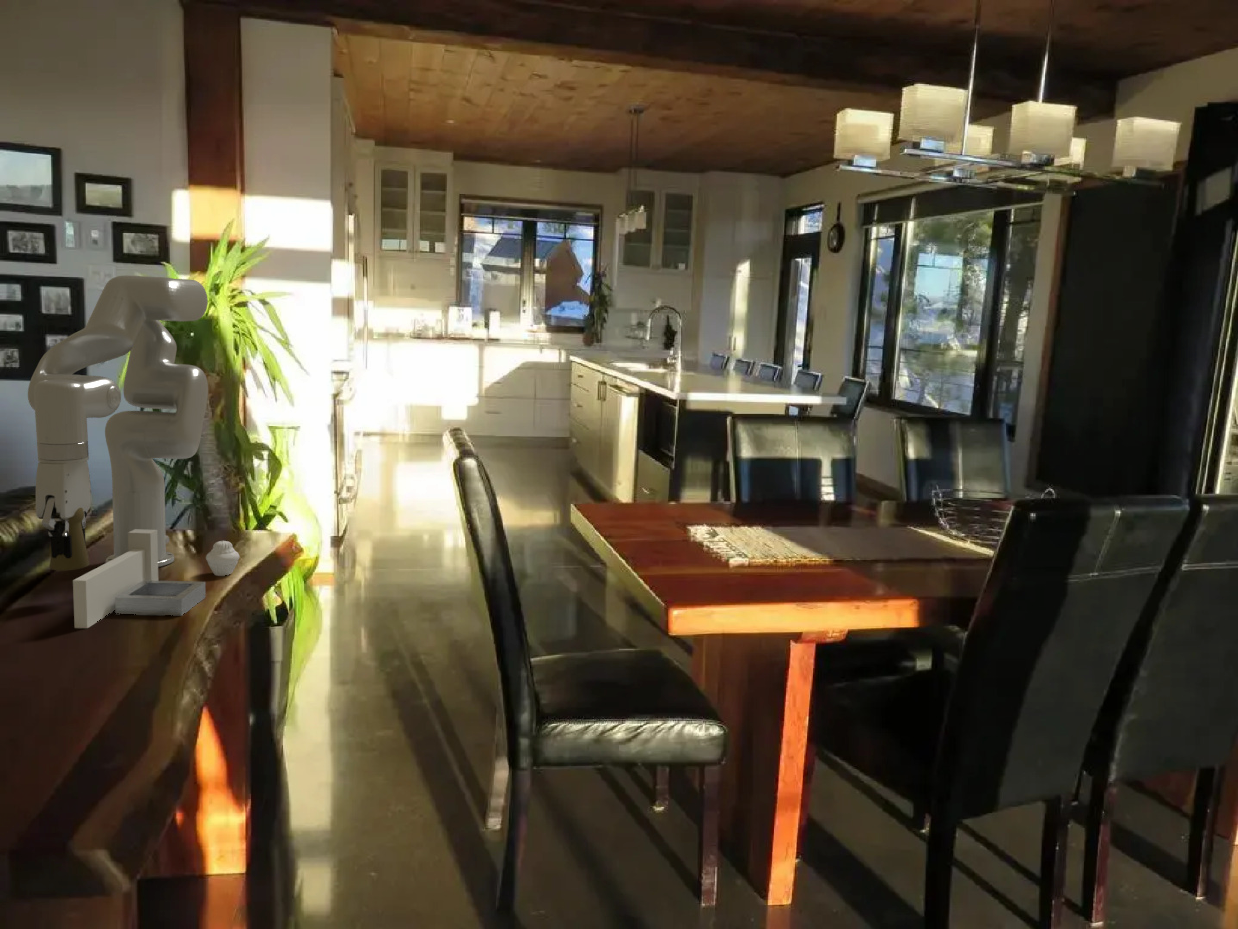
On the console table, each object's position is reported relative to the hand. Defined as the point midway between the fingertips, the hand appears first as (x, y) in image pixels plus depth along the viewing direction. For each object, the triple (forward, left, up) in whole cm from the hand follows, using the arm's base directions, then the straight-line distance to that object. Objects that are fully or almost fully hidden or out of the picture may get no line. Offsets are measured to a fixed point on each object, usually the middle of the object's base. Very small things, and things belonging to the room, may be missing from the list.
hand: (69, 552), depth 159 cm
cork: (0, 0, -2) cm, 2 cm away
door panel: (+2, +9, -9) cm, 12 cm away
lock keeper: (+1, +16, -9) cm, 18 cm away
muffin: (-21, +19, -9) cm, 30 cm away
